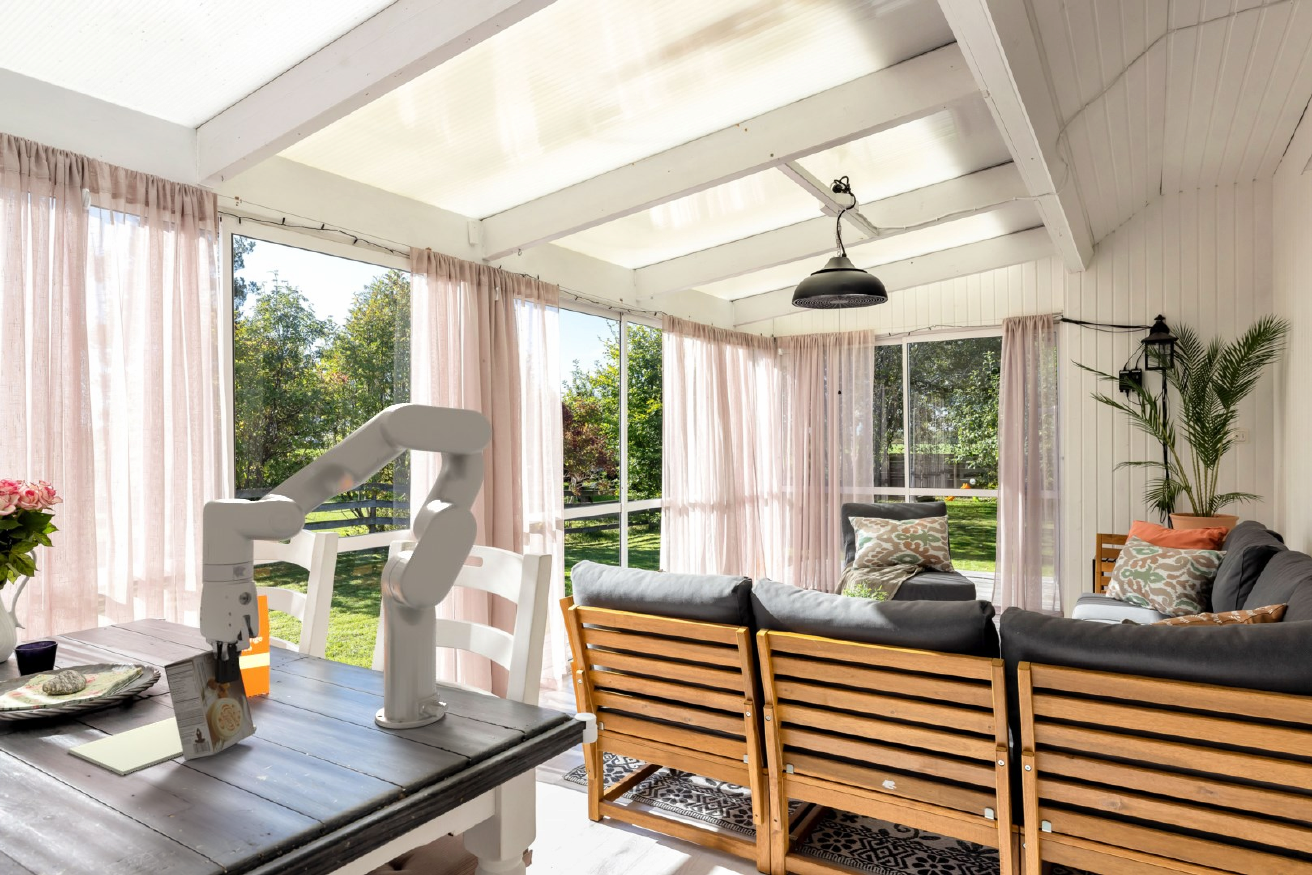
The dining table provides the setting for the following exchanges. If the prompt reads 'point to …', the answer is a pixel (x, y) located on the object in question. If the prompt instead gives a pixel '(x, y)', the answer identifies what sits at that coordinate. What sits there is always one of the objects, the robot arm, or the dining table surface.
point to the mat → (134, 747)
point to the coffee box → (207, 706)
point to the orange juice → (257, 656)
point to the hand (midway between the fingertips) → (227, 681)
